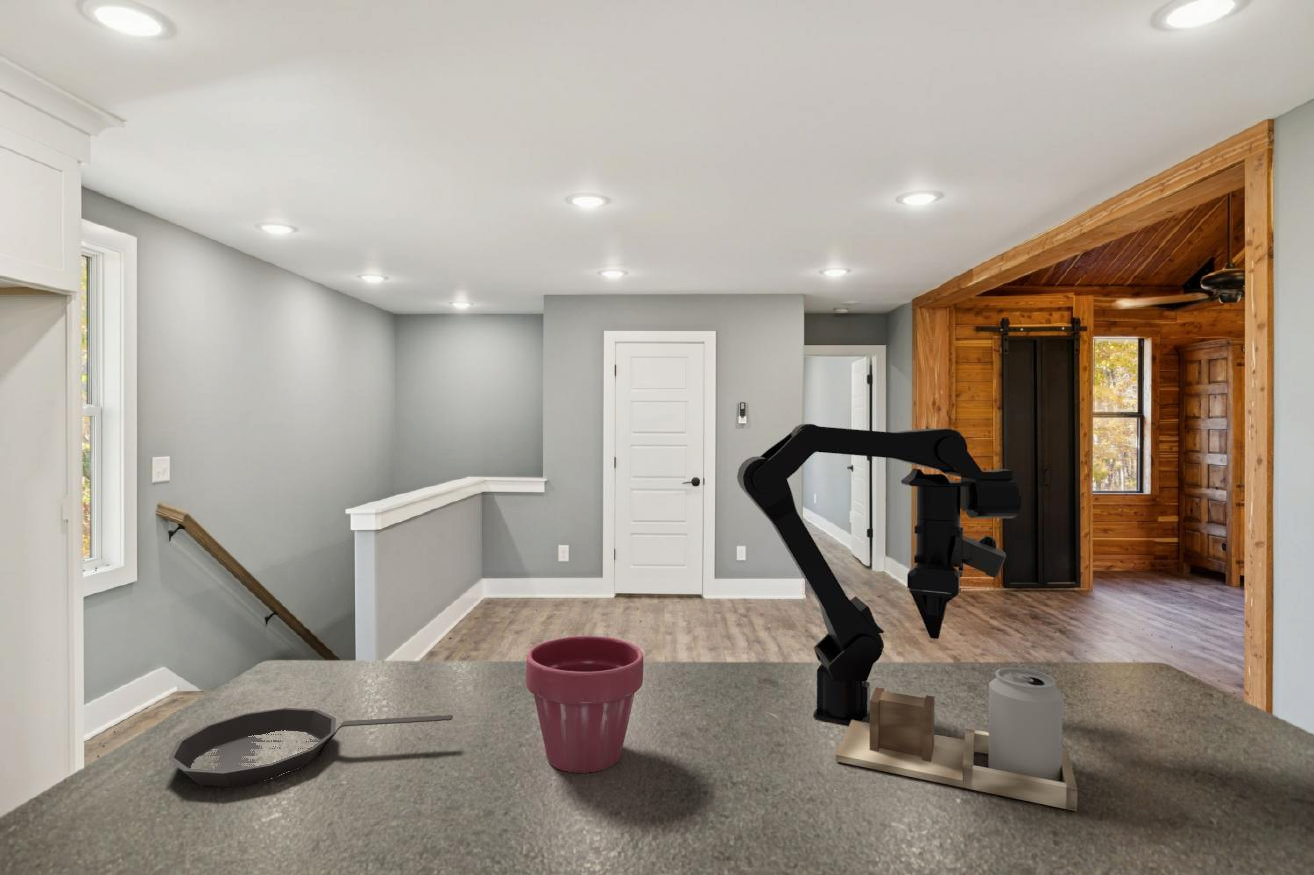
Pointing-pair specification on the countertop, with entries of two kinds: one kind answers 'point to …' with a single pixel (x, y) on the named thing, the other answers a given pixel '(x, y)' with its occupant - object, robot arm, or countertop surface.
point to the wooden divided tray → (941, 753)
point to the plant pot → (584, 698)
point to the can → (1025, 723)
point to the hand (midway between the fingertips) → (936, 629)
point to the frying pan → (236, 742)
